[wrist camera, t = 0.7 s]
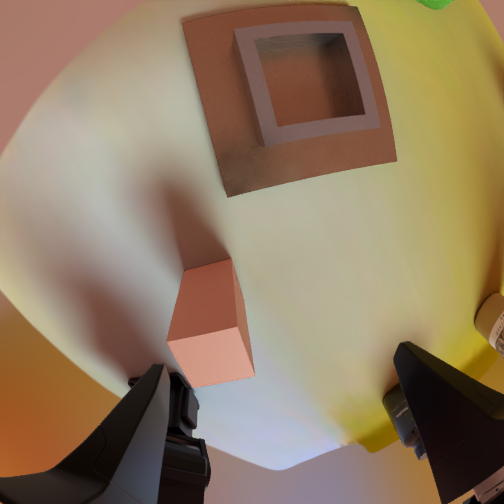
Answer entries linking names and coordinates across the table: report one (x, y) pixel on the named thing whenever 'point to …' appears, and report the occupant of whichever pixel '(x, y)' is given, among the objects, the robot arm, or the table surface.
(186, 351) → the red post
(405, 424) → the supplement bottle
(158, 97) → the table surface
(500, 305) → the paper tube
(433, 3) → the snack cup
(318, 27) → the square socket base
